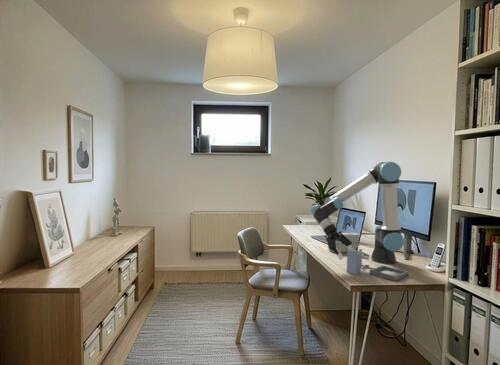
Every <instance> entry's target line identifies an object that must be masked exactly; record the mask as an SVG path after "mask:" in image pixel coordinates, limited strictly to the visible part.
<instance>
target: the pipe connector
mask: <svg viewBox="0 0 500 365" xmlns="http://www.w3.org/2000/svg"><path fill="white" fill-rule="evenodd" d="M358 252H361V266H363V265H362V264H363V261H362V260H363V259H364V260H370V256H366V255H365V254H363V249H362V248H358Z"/></svg>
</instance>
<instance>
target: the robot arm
mask: <svg viewBox="0 0 500 365" xmlns="http://www.w3.org/2000/svg"><path fill="white" fill-rule="evenodd" d="M401 176H402V168H401V167H400V165H399V164H397V163H396V162H394V161H381V162H379V163H377V164H376V165H375V166H373V167H372V168H370V169H369V170H367V171H366V173H365V174H363V175H362V176H361V177H360V178H357V179H356V180H354V181H353V182H352V183H350V184H348V185H346V186H344V188H342V189H341V190H339V191H338V192H336V193H334V194H333V195H331V196H329V197H327V198H325V199H324V202H323V205H321V204H315V205H314V206H312V208H311V209H310V213H311V215H312V216H313V218H314V219H315V221H316V222H317V223H318V224H317V225H319V227H320V228H321V230H322V231H323V232H324V234H325V236H324V237H325V239H326V243H327V247H328V246H329V249H330V250H331V251H334V252H333V253H335V255H336V256H337V258H338V259H339V261H342V260H343V259H344V255H343V254H342V252H340V251H339V250H338V248H336V241H337V240H338V241H340V242H342V243H343V244H345V245H346V246H348V247H347V248H348V249H349V251H352V250H354V249H353V247H352V246H351V244H352V242H351V241H350V240H349V239H348V238H346V237H345V236H344V235H343V234H342V233H343V232H342V231H339V232H338V230H337V228H338V227H336V225H335V224H334V222H333V221H332V220H331V218H330V216H331V215H333V214H334V213H336V212H337V211H339V210H341V209H342V208H343V207H344V205H345V204H344V202H346V201H348V200H350V199H351V198H352V197H354V196H356V195H358V194H359V193H360V192H362V191H364V190H365V189H367V188H368V187H370V186H372V185H374V184H375V185H376V184H378V186H380V187H381V205H382V206H381V207H382V209H381V211H382V225H376V226H375V229H374V247H373V252H372V254H371V257H370V259H371V260H372V261H374V262H376V263H382V264H395V263H397V257H396V254H395V252H397V251H400V250H401V249H402V248H403V247H404V246H405V245H404V244H405V238H404V237H403V235H402V227H400V226H399V212H398V211H399V210H398V191H397V190H398V189H397V188H398V186H399V184H400V177H401ZM339 237H340V238H339ZM349 242H350V243H349ZM329 249H328V250H329ZM330 250H329V251H330ZM331 251H330V252H331Z"/></svg>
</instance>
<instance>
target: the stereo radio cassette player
mask: <svg viewBox="0 0 500 365" xmlns="http://www.w3.org/2000/svg"><path fill="white" fill-rule="evenodd" d="M335 227H336V228H338V229H340V230H341V231H343V232H341V233H342V234H343V235H344V236H345V237H346V238H348V239H349V240H350V241H351V242H352V244H351V246H352V247H353V249H354V250H357V252H359V240H360V234H359V233H357V232H348V231H347V230H345V229H343V228H340V227H339V226H337V225H335ZM339 238H340V237H339ZM349 243H350V242H349ZM347 247H348V246H346V245H345V244H343V243H342V242H340V241H338V240H337V241H336V248H338V250H339V251H340V252H341V253H347V252H348V251H349V249H348V248H347ZM327 249H328V250H329V252H331V253H335V252H334V251H331V250H330V249H329V246H328V245H327Z"/></svg>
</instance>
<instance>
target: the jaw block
mask: <svg viewBox="0 0 500 365" xmlns="http://www.w3.org/2000/svg"><path fill="white" fill-rule="evenodd" d="M346 253H347V256H346V273H349V274H351V275H354V276H356V275H360V274H361V273H362V265H361V252H359V251H357V250H352V251H348V252H346Z"/></svg>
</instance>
